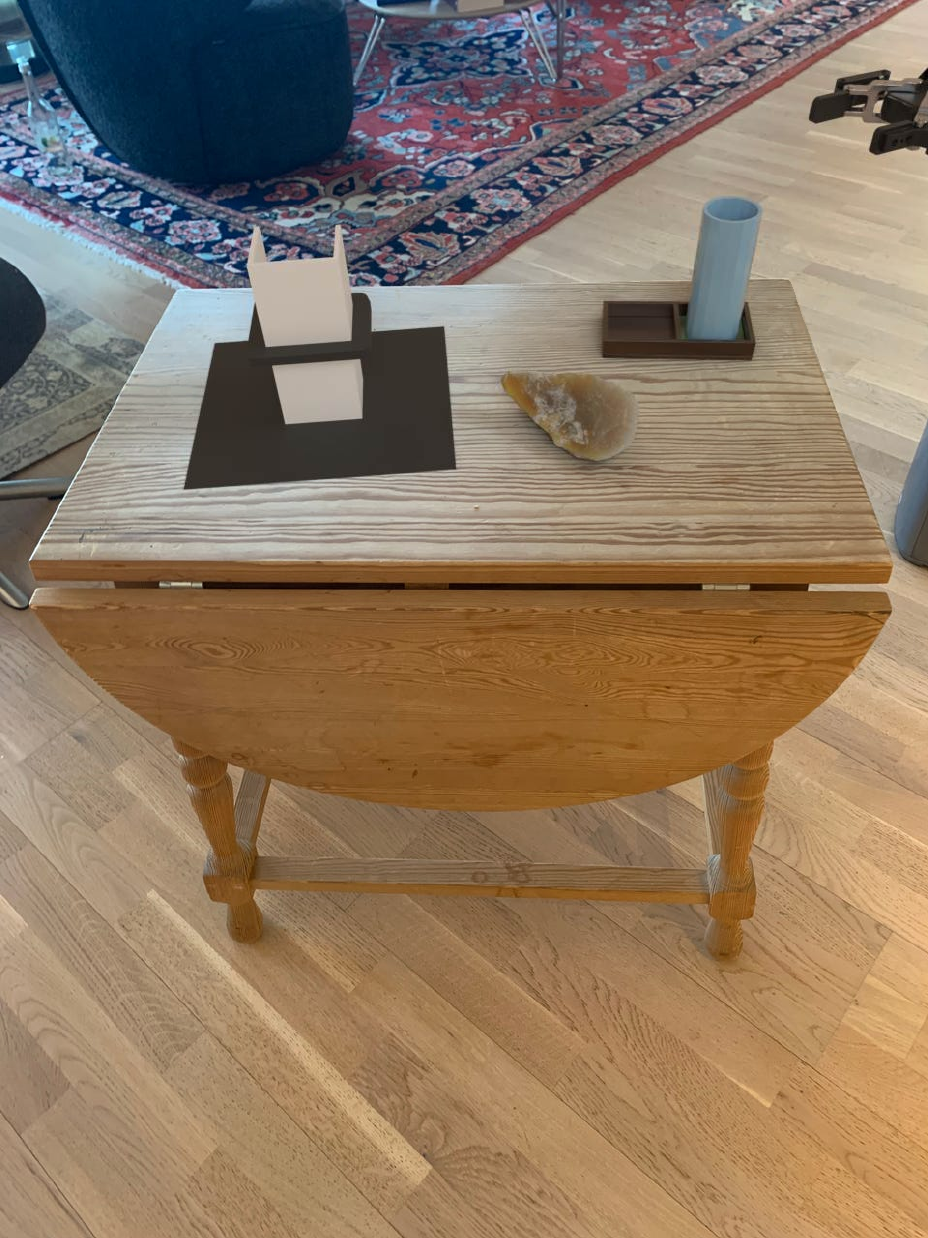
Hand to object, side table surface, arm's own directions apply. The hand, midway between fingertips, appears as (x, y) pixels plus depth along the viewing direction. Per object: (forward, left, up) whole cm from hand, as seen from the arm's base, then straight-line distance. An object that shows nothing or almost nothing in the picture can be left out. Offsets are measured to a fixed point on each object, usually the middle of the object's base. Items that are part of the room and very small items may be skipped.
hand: (842, 125), depth 85 cm
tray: (+14, -1, -19) cm, 24 cm away
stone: (+31, +10, -19) cm, 38 cm away
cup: (+11, +1, -18) cm, 21 cm away
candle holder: (+51, -4, -19) cm, 55 cm away
